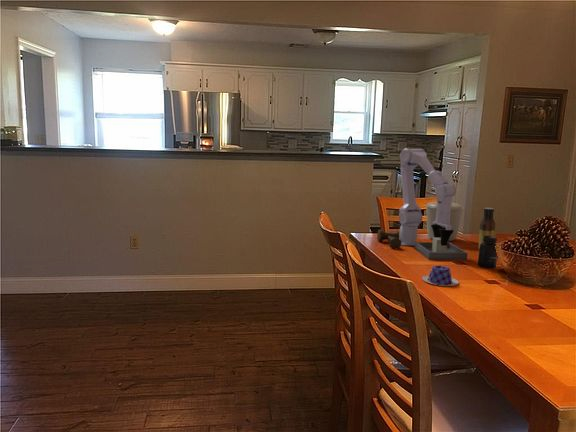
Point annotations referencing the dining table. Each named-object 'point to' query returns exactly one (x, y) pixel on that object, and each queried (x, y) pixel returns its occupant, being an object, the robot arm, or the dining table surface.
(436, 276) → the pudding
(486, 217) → the sauce bottle
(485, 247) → the supplement bottle
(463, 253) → the tray
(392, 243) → the kendama
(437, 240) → the beige block
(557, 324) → the dining table surface
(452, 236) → the canister
